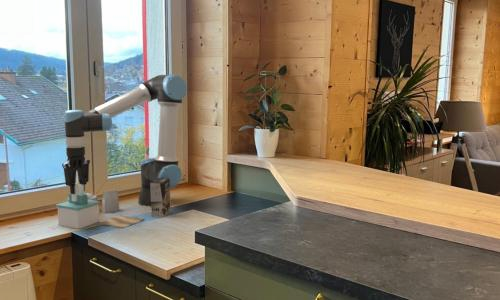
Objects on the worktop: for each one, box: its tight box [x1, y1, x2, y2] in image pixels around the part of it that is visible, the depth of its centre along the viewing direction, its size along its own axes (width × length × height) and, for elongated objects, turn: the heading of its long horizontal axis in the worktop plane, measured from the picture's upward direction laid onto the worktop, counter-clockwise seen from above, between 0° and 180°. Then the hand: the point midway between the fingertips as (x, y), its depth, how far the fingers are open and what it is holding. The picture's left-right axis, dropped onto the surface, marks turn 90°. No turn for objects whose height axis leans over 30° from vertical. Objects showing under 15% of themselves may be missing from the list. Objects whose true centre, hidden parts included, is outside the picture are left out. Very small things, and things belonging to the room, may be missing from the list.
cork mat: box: [97, 214, 145, 229], centre depth 209 cm, size 14×14×1 cm
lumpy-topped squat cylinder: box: [66, 192, 98, 202], centre depth 224 cm, size 10×13×9 cm
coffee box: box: [150, 178, 172, 218], centre depth 219 cm, size 9×6×16 cm
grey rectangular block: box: [101, 189, 120, 214], centre depth 226 cm, size 4×7×10 cm, turn 129°
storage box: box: [57, 204, 101, 230], centre depth 206 cm, size 12×12×8 cm
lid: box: [55, 192, 102, 211], centre depth 206 cm, size 13×13×6 cm
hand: (78, 199), depth 205 cm, fingers closed on lid, 3 cm apart
